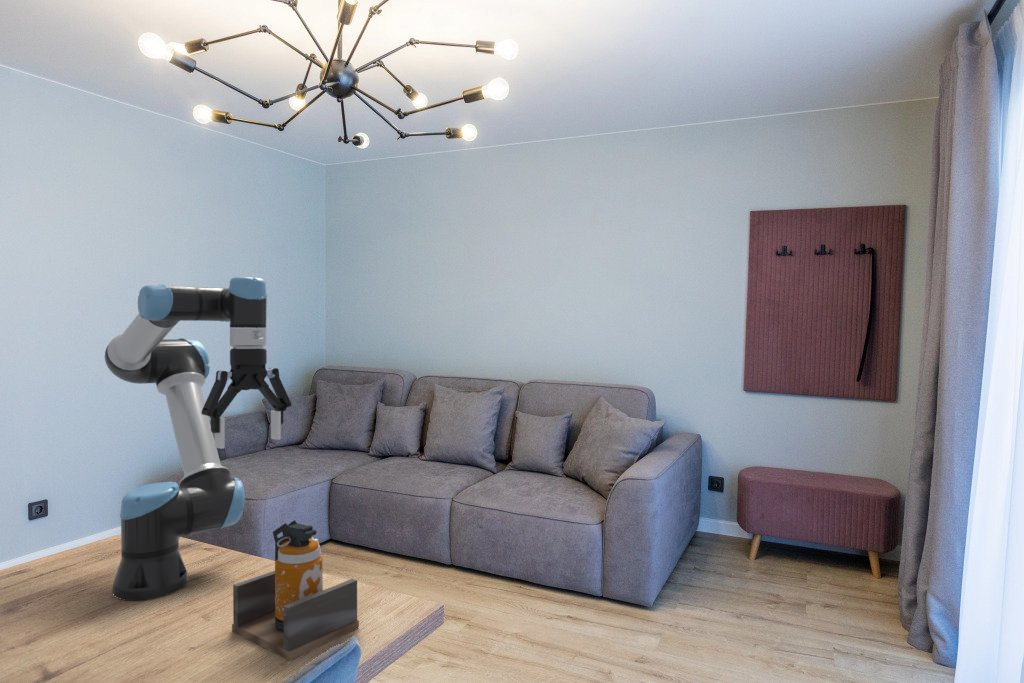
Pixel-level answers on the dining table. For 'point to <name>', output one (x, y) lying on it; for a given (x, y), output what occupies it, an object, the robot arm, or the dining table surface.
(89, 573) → the dining table surface
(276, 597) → the canister
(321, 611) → the holder
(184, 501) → the robot arm
